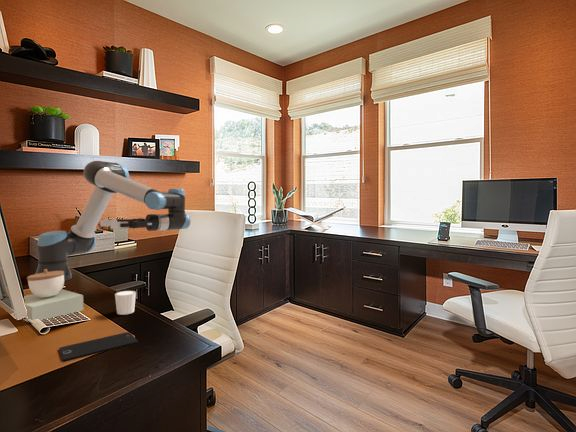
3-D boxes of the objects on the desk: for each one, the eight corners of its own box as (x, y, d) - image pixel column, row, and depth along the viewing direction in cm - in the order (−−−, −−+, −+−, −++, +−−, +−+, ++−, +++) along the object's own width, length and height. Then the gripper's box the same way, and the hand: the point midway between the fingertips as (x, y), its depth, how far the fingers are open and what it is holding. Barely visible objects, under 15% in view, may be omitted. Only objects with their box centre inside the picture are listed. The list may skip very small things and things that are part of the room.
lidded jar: (73, 291, 123) (70, 265, 123) (43, 300, 113) (40, 272, 113) (52, 291, 127) (49, 266, 126) (22, 299, 116) (18, 273, 116)
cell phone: (58, 350, 91) (58, 347, 91) (129, 334, 103) (129, 331, 103) (63, 363, 85) (63, 359, 85) (138, 344, 96) (138, 341, 96)
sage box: (10, 315, 117) (9, 298, 116) (60, 303, 130) (60, 288, 130) (32, 325, 109) (32, 307, 108) (83, 311, 122) (83, 295, 122)
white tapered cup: (140, 310, 123) (140, 291, 123) (124, 316, 117) (123, 296, 116) (127, 307, 126) (126, 289, 125) (110, 313, 120) (110, 294, 119)
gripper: (168, 233, 144) (115, 236, 129) (145, 228, 162) (96, 230, 147) (168, 215, 144) (115, 216, 129) (145, 212, 162) (96, 213, 147)
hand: (105, 224), depth 138 cm, fingers open, 13 cm apart
